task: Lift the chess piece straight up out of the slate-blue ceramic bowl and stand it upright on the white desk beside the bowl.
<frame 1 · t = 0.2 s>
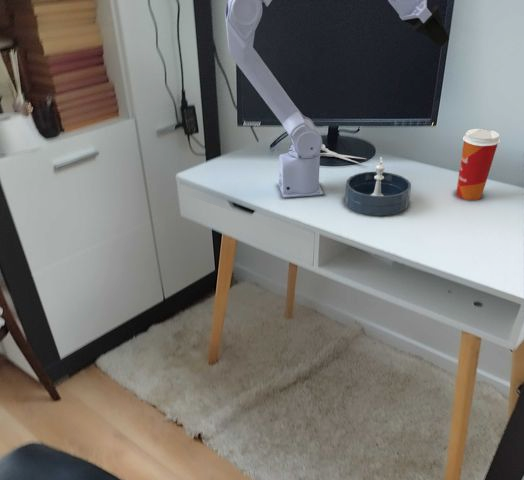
hand: (438, 38, 113), 31 cm above the table, tool tilted 45°, fingers open, 7 cm apart
paper cup: (468, 196, 127), on the table
bowl: (376, 202, 125), on the table
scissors: (333, 157, 147), on the table
chess piece: (376, 202, 124), resting on bowl
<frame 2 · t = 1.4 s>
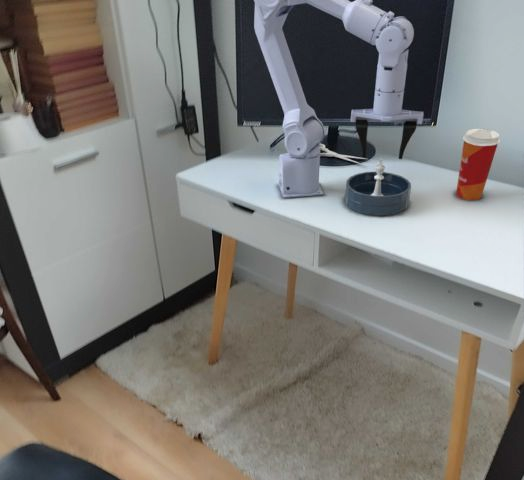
hand: (382, 156, 118), 11 cm above the table, tool pointing down, fingers open, 7 cm apart
nothing on the table moved.
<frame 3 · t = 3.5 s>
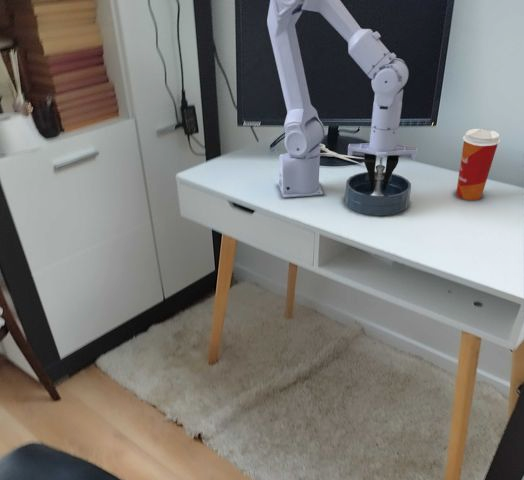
hand: (377, 188, 122), 3 cm above the table, tool pointing down, fingers closed on chess piece
chess piece: (376, 202, 124), resting on bowl, touching gripper
everything else where it was.
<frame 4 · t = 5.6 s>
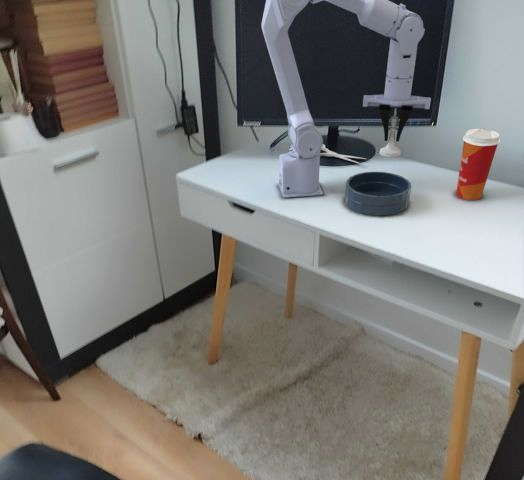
hand: (391, 139, 126), 10 cm above the table, tool pointing down, fingers closed on chess piece
chess piece: (390, 154, 128), point 7 cm above the table, touching gripper
everything else where it was.
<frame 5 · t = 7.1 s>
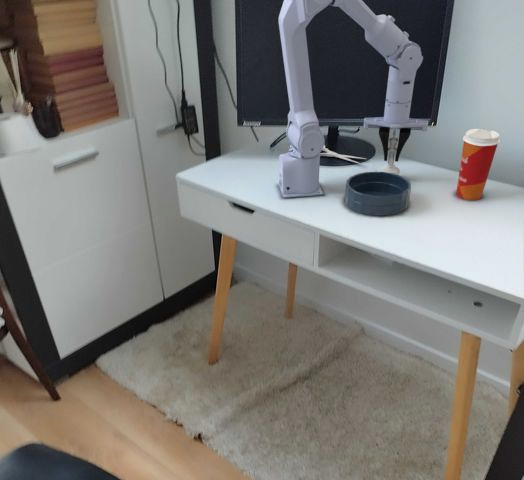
hand: (391, 159, 132), 5 cm above the table, tool pointing down, fingers closed on chess piece
chess piece: (389, 173, 134), point 1 cm above the table, touching gripper
everything else where it was.
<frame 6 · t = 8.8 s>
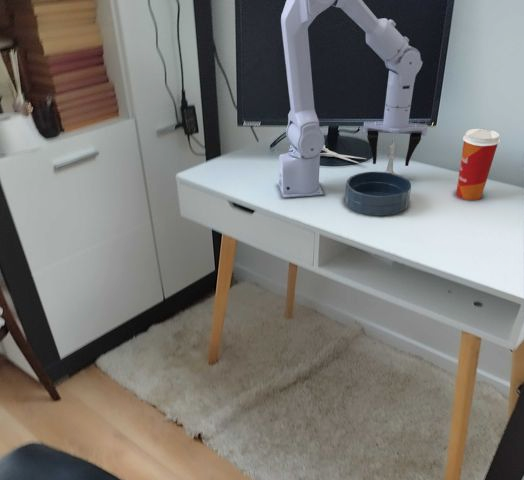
hand: (390, 163, 133), 4 cm above the table, tool pointing down, fingers open, 7 cm apart
chess piece: (388, 179, 135), on the table
everything else where it was.
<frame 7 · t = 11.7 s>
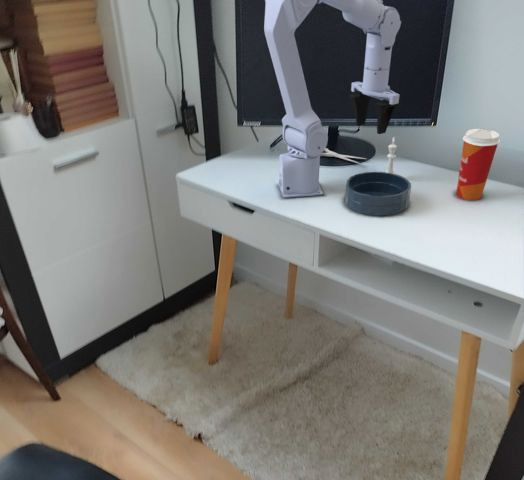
hand: (370, 129, 133), 10 cm above the table, tool pointing down, fingers open, 7 cm apart
nothing on the table moved.
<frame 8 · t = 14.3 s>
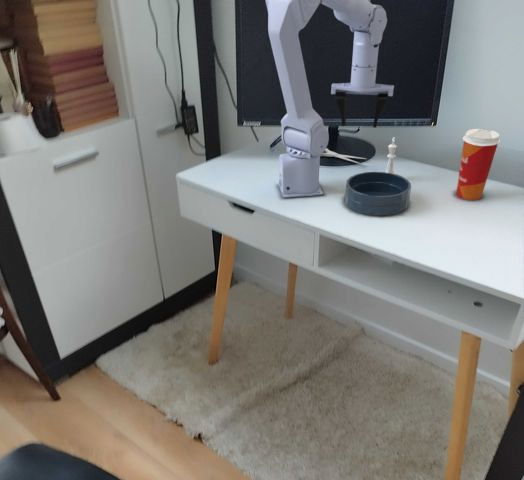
hand: (359, 125, 135), 10 cm above the table, tool pointing down, fingers open, 7 cm apart
nothing on the table moved.
at the end: chess piece inside the target area (0.0 cm from its centre), on the table; chess piece tilted 0°; chess piece touching table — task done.
